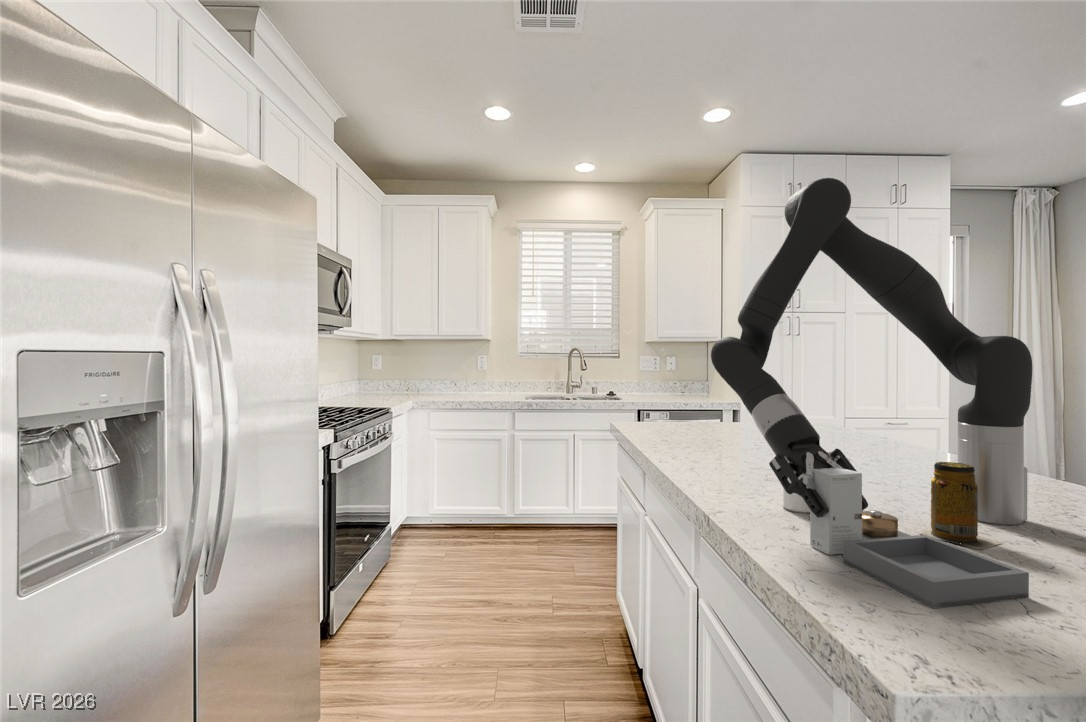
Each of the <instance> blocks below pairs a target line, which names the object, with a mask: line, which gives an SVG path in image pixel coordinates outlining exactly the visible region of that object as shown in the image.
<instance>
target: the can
mask: <svg viewBox="0 0 1086 722" xmlns="http://www.w3.org/2000/svg"><path fill="white" fill-rule="evenodd" d="M787 479H788V481H789V483H791V481H790V479H789V477H788V478H787ZM781 503H782V504H781V506H782V507H783V509H785V510H786V511H789V510H790V511H789V512H794V513H798V512H799V514H810V508H809V507H808V505H807V504H806V502H805V501H804V499H803V498H802V497H800V496H798V495H797V494H796V493H792V494H788V493H787V492H786V491H785V489H784V488H783V486H782V485H781Z"/></svg>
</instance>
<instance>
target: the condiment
mask: <svg viewBox="0 0 1086 722" xmlns="http://www.w3.org/2000/svg"><path fill="white" fill-rule="evenodd" d="M933 467H934V468H933V469H934V472H933V474H934V477H933V478H932V479H931V482H930V483H931V484H930V485H931V487H930V496H931V498H930V529H931V530H928V531H922V532H921V531H920V532H919V533H918V535H927V536H930V537H933V538H936V539H938V540H941V541H944V542H947V543H954V544H957V545H960V546H964V547H968V548H970V547H971V548H973V549H977V550H983V549H987V548H991V547H995V546H999V544H1003V542H1002V541H998V540H995V539H994V540H993V539H991V538H987V537H982V536H979V533H978V530H979V529H978V527H979V524H978V486H977V484H976V482H975V475H974V471H975V469H974V467H973V466H971V465H967V464H962V463H958V462H952V461H938V462H935V463H934V465H933ZM980 541H981V542H980ZM960 543H961V544H960Z"/></svg>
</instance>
